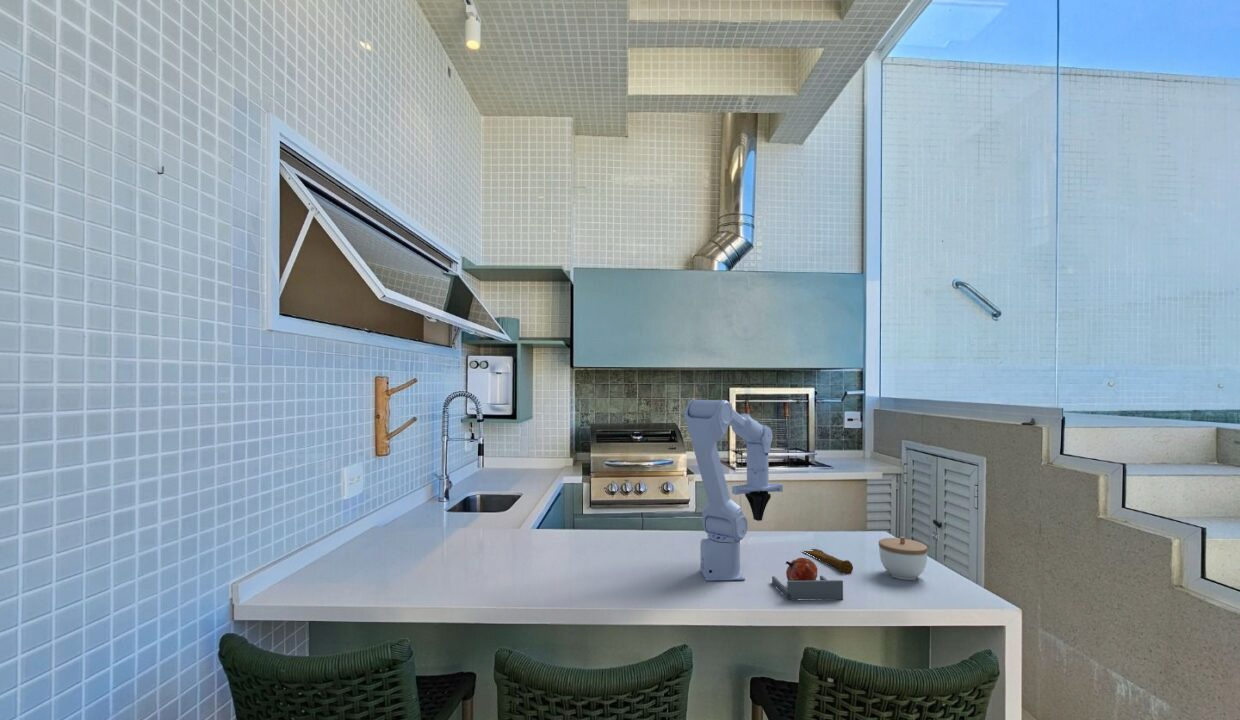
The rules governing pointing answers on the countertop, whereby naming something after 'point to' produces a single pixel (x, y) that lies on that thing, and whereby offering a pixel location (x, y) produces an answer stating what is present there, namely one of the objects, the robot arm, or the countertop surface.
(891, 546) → the lidded jar
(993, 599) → the countertop surface
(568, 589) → the countertop surface
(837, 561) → the primitive tool
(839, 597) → the box
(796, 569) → the pomegranate
